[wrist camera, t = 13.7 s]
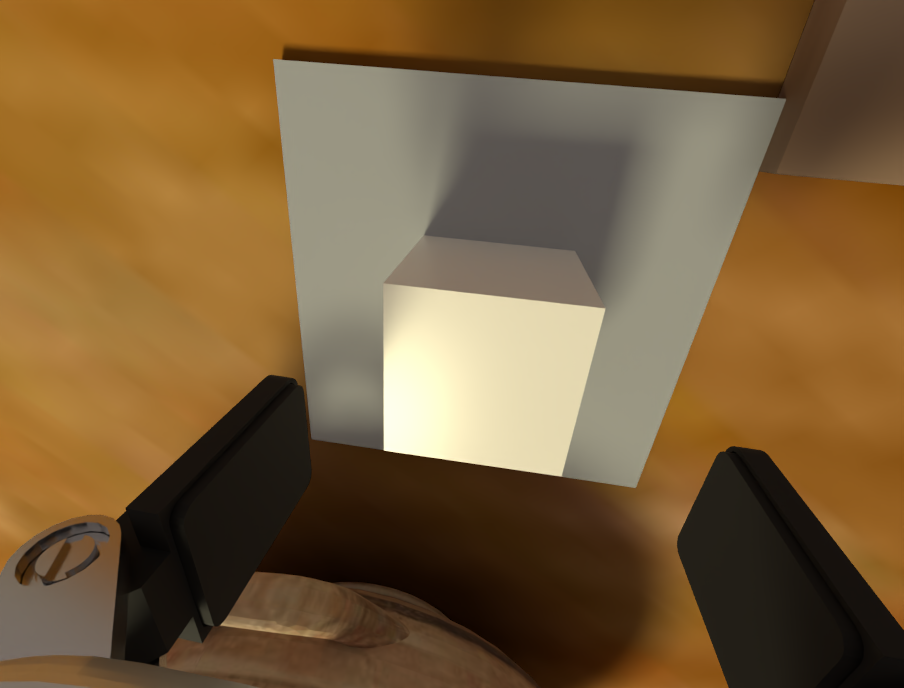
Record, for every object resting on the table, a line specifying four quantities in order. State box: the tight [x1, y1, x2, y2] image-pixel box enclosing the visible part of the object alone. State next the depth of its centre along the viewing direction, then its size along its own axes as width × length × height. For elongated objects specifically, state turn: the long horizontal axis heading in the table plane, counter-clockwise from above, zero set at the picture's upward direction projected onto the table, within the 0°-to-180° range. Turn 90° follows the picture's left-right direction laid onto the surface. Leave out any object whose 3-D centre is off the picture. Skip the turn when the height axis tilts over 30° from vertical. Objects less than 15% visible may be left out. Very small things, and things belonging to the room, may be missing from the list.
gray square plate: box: [273, 59, 786, 488], centre depth 17 cm, size 16×16×1 cm
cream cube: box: [383, 235, 606, 477], centre depth 14 cm, size 6×6×6 cm
